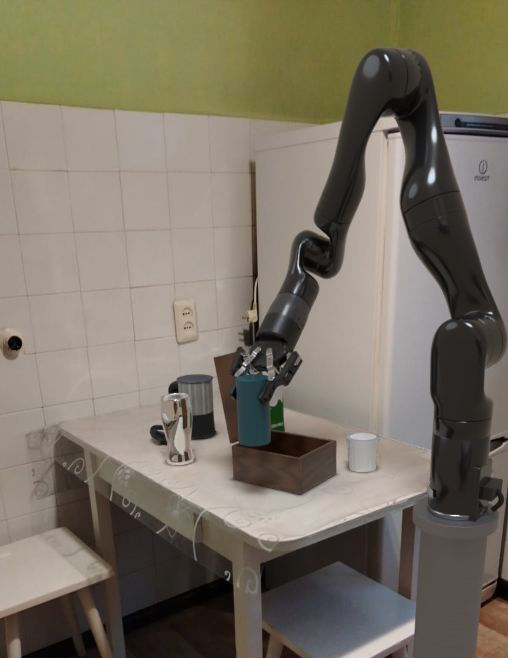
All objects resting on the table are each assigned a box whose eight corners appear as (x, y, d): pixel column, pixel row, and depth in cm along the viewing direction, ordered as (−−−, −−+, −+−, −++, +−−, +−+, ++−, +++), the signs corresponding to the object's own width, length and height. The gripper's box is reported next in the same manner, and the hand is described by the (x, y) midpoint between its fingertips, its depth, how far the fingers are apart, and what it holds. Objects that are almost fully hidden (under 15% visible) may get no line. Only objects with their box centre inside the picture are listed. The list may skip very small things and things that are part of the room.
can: (277, 439, 120) (275, 375, 115) (257, 448, 115) (255, 382, 111) (251, 434, 123) (249, 373, 119) (232, 443, 119) (228, 379, 115)
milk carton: (264, 447, 152) (261, 363, 145) (239, 439, 159) (236, 358, 152) (290, 439, 157) (289, 357, 150) (266, 432, 164) (263, 353, 157)
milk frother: (222, 431, 167) (219, 374, 162) (194, 449, 154) (189, 388, 148) (175, 427, 173) (170, 372, 167) (143, 444, 159) (137, 385, 154)
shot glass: (339, 466, 137) (339, 435, 135) (365, 460, 140) (366, 429, 138) (359, 475, 132) (359, 443, 129) (385, 469, 134) (386, 437, 132)
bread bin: (336, 474, 133) (336, 440, 130) (300, 495, 123) (299, 459, 121) (271, 460, 143) (270, 429, 140) (233, 479, 133) (231, 445, 131)
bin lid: (257, 346, 136) (254, 346, 136) (216, 357, 126) (213, 357, 126) (271, 427, 140) (269, 427, 141) (232, 443, 130) (229, 443, 131)
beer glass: (188, 467, 142) (183, 400, 136) (160, 464, 144) (153, 399, 139) (200, 456, 148) (195, 393, 142) (172, 455, 150) (167, 392, 145)
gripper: (243, 310, 121) (206, 384, 117) (308, 312, 112) (270, 393, 108) (261, 334, 127) (226, 406, 122) (324, 338, 118) (288, 416, 114)
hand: (247, 399), depth 115 cm, fingers closed on can, 6 cm apart
